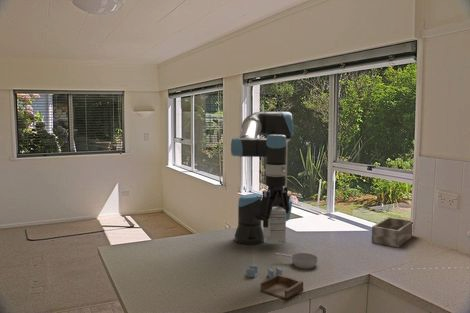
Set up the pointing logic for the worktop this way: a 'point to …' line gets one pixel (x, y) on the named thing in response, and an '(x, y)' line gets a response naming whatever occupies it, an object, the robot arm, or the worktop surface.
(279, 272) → the clip
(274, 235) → the supplement box
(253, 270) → the clip
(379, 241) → the box
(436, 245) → the worktop surface
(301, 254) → the saucepan
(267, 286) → the wooden tray
